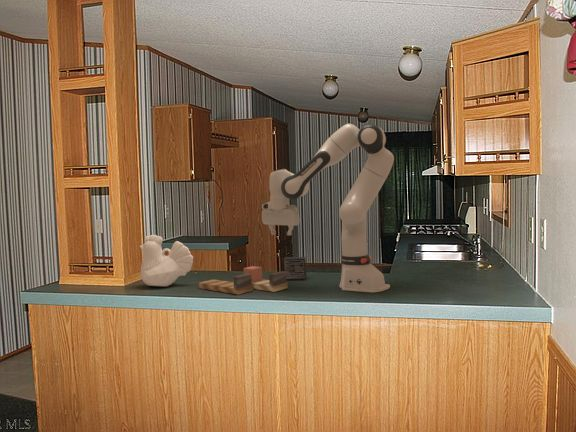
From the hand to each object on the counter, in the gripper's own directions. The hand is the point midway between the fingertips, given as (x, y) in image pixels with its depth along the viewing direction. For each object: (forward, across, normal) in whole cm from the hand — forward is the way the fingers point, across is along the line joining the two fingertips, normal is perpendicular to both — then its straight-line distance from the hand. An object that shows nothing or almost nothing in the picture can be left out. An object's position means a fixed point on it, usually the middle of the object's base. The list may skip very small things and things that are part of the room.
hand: (281, 234), depth 257 cm
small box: (+24, +4, -14) cm, 27 cm away
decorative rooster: (+23, +48, +29) cm, 61 cm away
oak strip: (+23, +17, +21) cm, 36 cm away
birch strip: (+23, +6, +10) cm, 26 cm away
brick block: (+21, +10, +9) cm, 25 cm away
